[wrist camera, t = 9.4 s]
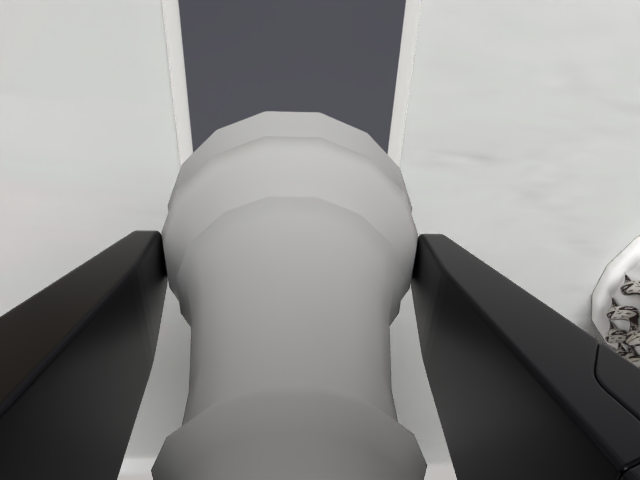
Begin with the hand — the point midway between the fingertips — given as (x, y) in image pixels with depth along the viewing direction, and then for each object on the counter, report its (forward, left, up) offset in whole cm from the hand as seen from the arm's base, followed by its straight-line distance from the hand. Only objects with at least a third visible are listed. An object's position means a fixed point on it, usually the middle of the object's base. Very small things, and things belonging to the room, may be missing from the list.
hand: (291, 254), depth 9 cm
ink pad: (0, 0, -11) cm, 11 cm away
